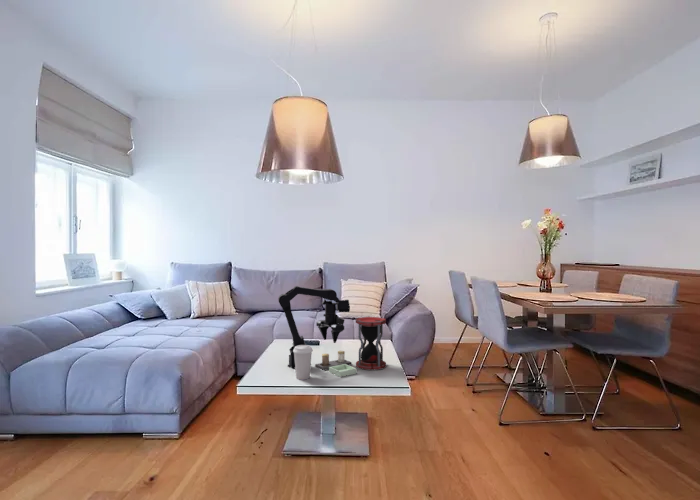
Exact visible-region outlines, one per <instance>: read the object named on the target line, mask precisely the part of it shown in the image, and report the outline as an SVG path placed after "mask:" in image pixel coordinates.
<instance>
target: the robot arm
mask: <svg viewBox="0 0 700 500" xmlns="http://www.w3.org/2000/svg"><path fill="white" fill-rule="evenodd" d="M298 295H303V296H310V297H319V298H322V299H323V301H321V304H322V305H324V307H325V309H324V314H323V317H324V319H323V320H322V319H321V320H317V321H316V326H317V328H318V330H319V331H320V334H321V336H322V338H323V340H324V341H326V340H327V336H328V335H327V334H328V329H329V328H330V329H331V330H330V332H331V333H330V334H331V336H332V337H331V338H332V341H333V343H334V344H336V343H337V340H338V337H339V335H340V333H342V332H343V331H345V325H344V323H345V321H346V319H344V318H341V317H339V315H338V314H336V312H337V311H338V313H350V310H351V307H350V300H349V299H339V298H338V295H337V292H336V291H335V290H334V289H332V288H322V289H319V288H310V287H302V286H298V285H295V286H294V287H293V288H291V289H289V290H287V292H285V293H282V294H280V295H279V296H278V298H277V300H278V303H279V305H280V307H281V309H282V310H283V312H284V315H285V317H286V321H287V324H288V327H289V328H288V329H289V330H290V334H291V338H292V346H291V347H290V348H289V353H290V354H289V355H288V364H287V367H289V368H291V369H295V358H294V352H293V350H294V348H295V346H298V345H307V344H306V342H305V338H304V336H303V335H300V333H299V330H298V328H297V325H296V322H295V319H294V316H293V315H294V314H293V312H292V308H291V307H292V306H291V300H293V299H294V298H295V297H296V296H298Z"/></svg>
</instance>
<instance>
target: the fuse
mask: <svg viewBox="0 0 700 500" xmlns="http://www.w3.org/2000/svg"><path fill="white" fill-rule="evenodd" d="M345 353H346V352H345V350H337V360H338V363H345V360H346V359H345V358H346V357H345Z"/></svg>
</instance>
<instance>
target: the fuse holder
mask: <svg viewBox="0 0 700 500" xmlns="http://www.w3.org/2000/svg"><path fill="white" fill-rule="evenodd" d="M342 364H347V365H349V366H352V365H353V364H352V361H350V360H347V359H345V363H338V359H337V360H331V361H330V360H329V366H325V367H324V366H322V362H320V363H316V364H314V367H315V368H317V369H319V370H321V371H329V367H332V366H337V365H342Z"/></svg>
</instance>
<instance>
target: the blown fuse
mask: <svg viewBox="0 0 700 500" xmlns="http://www.w3.org/2000/svg"><path fill="white" fill-rule="evenodd" d="M329 362H330V354H329V353H322V354H321V363H322V366H324V367H325V366H329Z"/></svg>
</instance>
